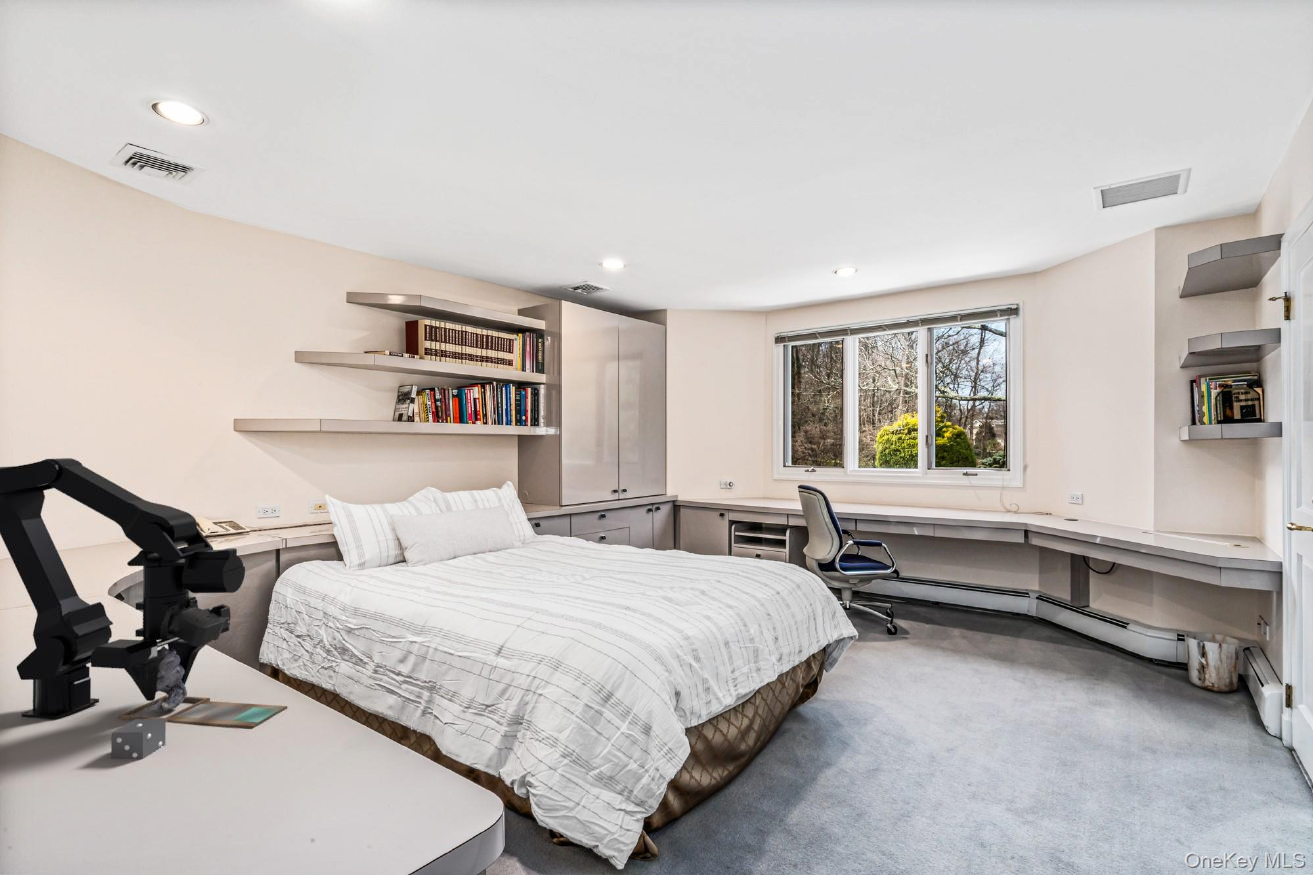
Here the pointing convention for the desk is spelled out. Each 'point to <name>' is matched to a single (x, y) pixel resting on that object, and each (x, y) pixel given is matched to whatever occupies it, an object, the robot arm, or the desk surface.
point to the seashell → (169, 681)
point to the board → (228, 714)
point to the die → (138, 739)
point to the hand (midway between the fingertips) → (165, 693)
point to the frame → (187, 699)
